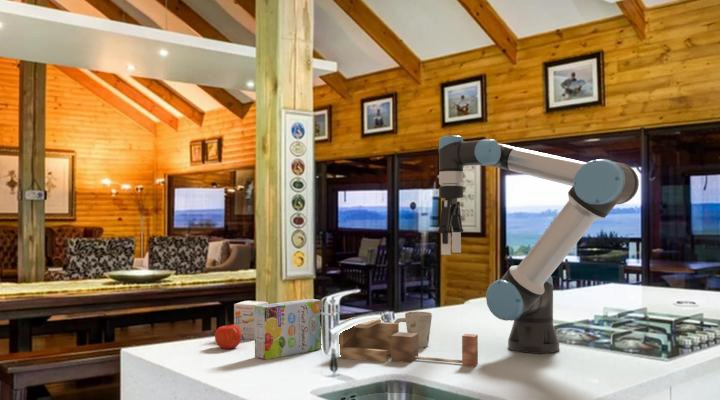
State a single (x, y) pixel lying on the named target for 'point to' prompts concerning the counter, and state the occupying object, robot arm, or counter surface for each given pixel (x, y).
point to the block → (407, 351)
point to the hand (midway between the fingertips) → (451, 253)
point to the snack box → (287, 328)
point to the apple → (228, 336)
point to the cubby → (368, 341)
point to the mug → (418, 325)
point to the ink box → (246, 318)
